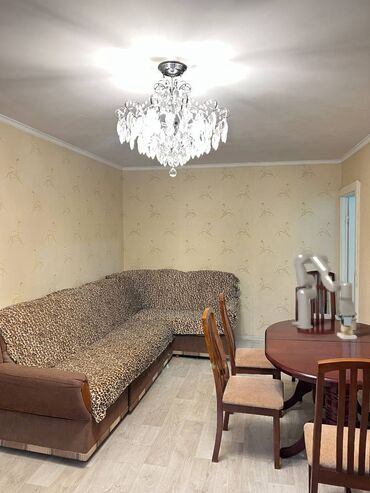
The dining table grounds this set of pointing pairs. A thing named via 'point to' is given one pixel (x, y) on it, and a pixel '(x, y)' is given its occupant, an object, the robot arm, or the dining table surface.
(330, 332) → the dining table surface
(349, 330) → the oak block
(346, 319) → the blue block
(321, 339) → the dining table surface
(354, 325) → the teacup with lid
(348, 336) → the plinth
